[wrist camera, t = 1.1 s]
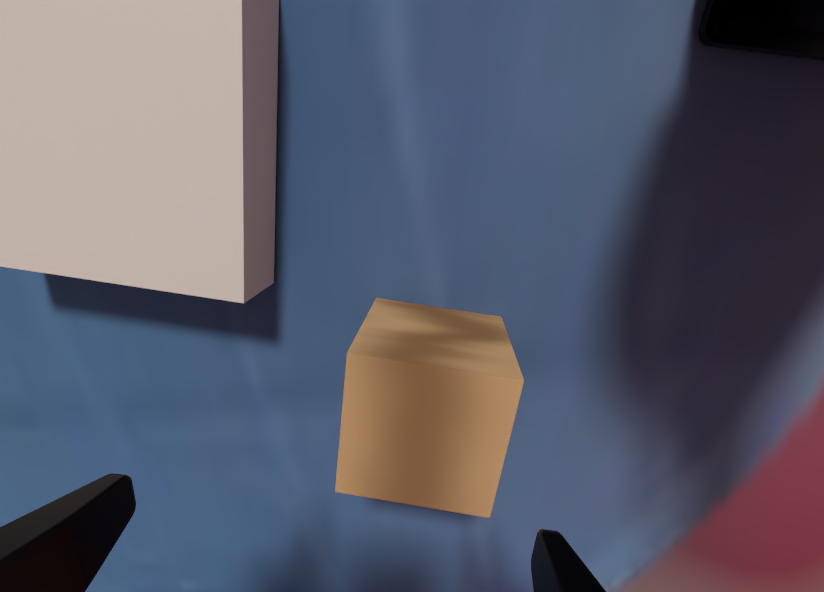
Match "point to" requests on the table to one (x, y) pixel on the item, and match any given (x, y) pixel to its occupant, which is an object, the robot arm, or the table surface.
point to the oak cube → (428, 407)
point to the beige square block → (140, 142)
